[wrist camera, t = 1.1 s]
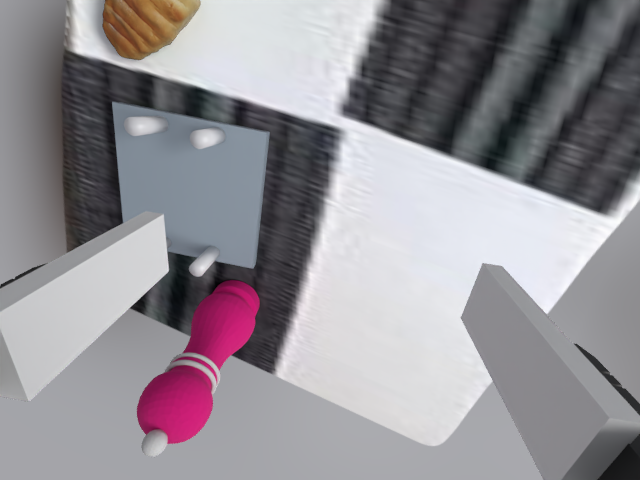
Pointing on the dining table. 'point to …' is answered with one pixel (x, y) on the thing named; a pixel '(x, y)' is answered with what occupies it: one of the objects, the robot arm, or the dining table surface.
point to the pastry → (145, 24)
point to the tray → (193, 181)
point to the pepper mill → (197, 368)
